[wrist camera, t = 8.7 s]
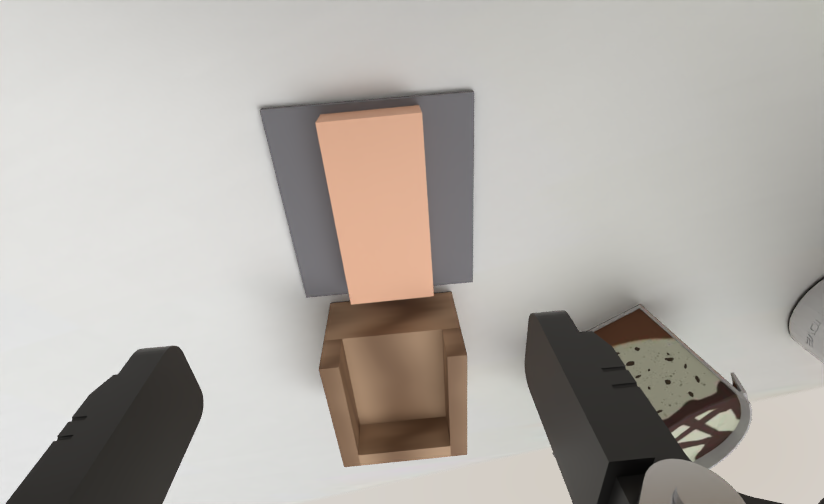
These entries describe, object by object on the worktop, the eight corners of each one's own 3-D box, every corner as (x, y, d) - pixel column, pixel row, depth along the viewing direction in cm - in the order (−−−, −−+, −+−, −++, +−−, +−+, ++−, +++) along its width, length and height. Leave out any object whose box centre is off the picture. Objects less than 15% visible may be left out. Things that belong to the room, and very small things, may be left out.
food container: (549, 403, 38) (599, 520, 29) (518, 366, 35) (563, 482, 26) (680, 341, 35) (778, 450, 26) (658, 294, 32) (760, 399, 23)
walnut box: (451, 291, 31) (467, 354, 25) (453, 384, 36) (466, 454, 30) (330, 303, 30) (318, 369, 25) (350, 395, 35) (344, 467, 30)
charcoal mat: (472, 90, 23) (474, 92, 23) (471, 278, 30) (472, 282, 30) (261, 108, 23) (259, 110, 23) (307, 294, 30) (306, 297, 29)
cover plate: (419, 104, 23) (422, 112, 21) (430, 279, 29) (433, 296, 28) (320, 114, 23) (315, 122, 21) (352, 287, 29) (350, 304, 28)
